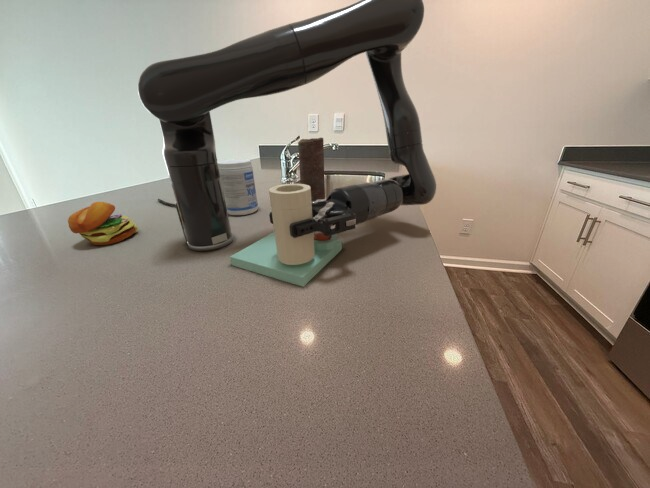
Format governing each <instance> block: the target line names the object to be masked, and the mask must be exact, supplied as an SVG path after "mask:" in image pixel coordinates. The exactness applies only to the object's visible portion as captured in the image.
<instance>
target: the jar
mask: <svg viewBox="0 0 650 488" xmlns="http://www.w3.org/2000/svg"><path fill="white" fill-rule="evenodd" d="M268 193H269V195H268V196H269V201H270V210H271V212H272V218H273V224H272V225H273V232H274V233H275V241H276V248H277V255H278V260H279V261H280V262H282V263H284V264H288V265H299V264H303V263H306V262H309V261H310V260H312V259H313V257H314V235H313V233H310V234H306V235H303V236H300V237H297V238H293V237H292V236H291V235H290V227H289V226H290V224H291V223H294V222H298V221H302V220H305V219H309V218H311V219H312V220H313V218H312V201H311V187H310V186H309V185H305V184H300V183H285V184H284V183H283V184H278V185H275V186H272V187H270V188H269V189H268Z"/></svg>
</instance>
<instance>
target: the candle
mask: <svg viewBox="0 0 650 488" xmlns="http://www.w3.org/2000/svg"><path fill="white" fill-rule="evenodd" d="M324 144H325V143H324V137H318V138H317V137H316V138H302V139H300V140H299V141H298V142H297V146H298V147H297V149H298V163H299V166H298V167H299V181H300V182H299V184H305V185H309V186H310V187H311V197H312V198H313V201H316V200H318V199H326V186H325V185H326V184H325V151H324V150H325V148H324Z"/></svg>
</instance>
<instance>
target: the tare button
mask: <svg viewBox="0 0 650 488" xmlns="http://www.w3.org/2000/svg"><path fill="white" fill-rule="evenodd" d="M329 239H330V236H324V235H323V232H321V233H318V234H316V233H314V240H318V241H326V240H329Z"/></svg>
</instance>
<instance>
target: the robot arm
mask: <svg viewBox="0 0 650 488" xmlns="http://www.w3.org/2000/svg"><path fill="white" fill-rule="evenodd" d="M424 18H425V5H424V1H423V0H359V1H357V2H354V3H352V4H349V5H348V6H345V7H342V8H339V9H335V10H332V11H328V12H325V13H322V14H319V15H318V14H317V15H315V16H312V17H309V18H306V19H302V20H299V21H295V22H290V23H287V24H285V25H281V26H278V27H275V28H271V29H268V30H266V31H263V32H261V33H257V34H255V35H252V36H249V37H247V38H244V39H242V40H238V41H237V42H234V43H232V44H229V45H227V46H225V47H223V48H220V49H217V50H214V51H210V52H206V53H201V54H196V55H191V56H185V57H180V58H174V59H167V60H166V59H165V60H160V61H156V62H154V63H151V64H150V65H148V66H147V67H146V68H144V70H143V71H142V72H141V74H140V76H139V77H138V78H139V79H138V82H137V94H138V97H139V100H140V101H141V102H140V103H141V104H142V105H143V107H144V108H145V110H146V111H148V112H149V114H151V115H152V116H153V117H155V118H157V119H158V123H159V125H160V129H161V133H162V138H163V147H162V156H163V161H164V165H165V167H166V170H167V174H168V178H169V181H170V183H171V188H172V191H173V195H174V199H175V203H170V202H167V201H164V200H163V199H160V198H157V202H160V203H161V204H164V205H167V206H171V207H175V208H176V213H177V216H178V219H179V223H180V226H181V230H182V233H183V238H184V240H185V243H186V245H187V247H188V249H189V250H191V251H195V252H210V251H214V250H219V249H222V248H225V247H226V246H229V245H230V244H231V243H233V241H234V235H233V233H232V229H231V223H230V219H229V214H228V212H227V207H226V202H225V197H224V192H223V187H222V182H221V177H220V172H219V167H218V162H219V161H218V157H217V149H216V148H217V147H216V140H215V133H214V127H213V122H212V117H211V116H212V115H211V111H213V110H216V109H217V108H220V107H222V106H225V105H226V104H229V103H233V102H236V101H240V100H244V99H252V98H260V97H266V96H273V95H277V94H281V93H284V92H287V91H291V90H293V89H296V88H300V87H302V86H306V85H309V84H310V83H313V82H314V81H316V80H319V79H321V78H322V77H324V76H325V75H328V74H329V73H330V72H331V71H334V70H335V69H337V68H338V67H339V66H341V65H343V64H344V63H345V62H347V61H348V60H350V59H352V58H354V57H356V56H358V55H361V54H364V53H365V56H366V59H367V63H368V65H369V68H370V72H371V75H372V78H373V81H374V86H375V88H376V92H377V95H378V99H379V103H380V107H381V111H382V117H383V122H384V127H385V135H386V140H387V146H388V153H389V160H390V162H391V163H392V164H394V165H400V166H404V168H405V169H406V170H407V173H406V174H400V175H395V176H391V177H389V178H386V179H385V178H384V179H379V180H375V181H370V182H366V181H365V182H359V183H355V184H350V185H346V186H340V187H336V188H334V189H332V190H331V191H330V193H329V195H328V196H327V198H325V199H318V200H316V201H313V198H312V197H311V201H312V218H313V220H312V219H311V218H309V219H305V220H302V221H298V222H294V223H291V224H290V226H289V227H290V235H291V236H292V237H293V238H297V237H300V236H303V235H306V234H310V233H313V232H314V233H316V234H318V233H321V232H323V235H324V236H330V235H334V234H337V235H338V234H340V233H341V234H342V233H344V232H348V231H352V230H355V229H356V226H357V225H361V224H363V223H365V222H369V221H371V220H374V219H376V218H378V217H380V216H385V215H386V214H389V213H393V212H394V211H396V210H397V209H399V208H400V207H401V206H423V205H424V206H425V205H428V204H429V203H431V202H432V201H433V200H434V198H435V196H436V193H437V180H436V177H435V175H434V172H433V170H432V168H431V165H430V163H429V160H428V158H427V155H426V153H425V151H424V144H423V135H422V127H421V122H420V117H419V113H418V110H417V108H416V106H415V104H414V102H413V100H412V98H411V96H410V94H409V92H408V90H407V87H406V84H405V81H404V76H403V68H402V67H403V66H402V52H403V51H404V50H405V49H406V48H407V47H408V46H409V45H410V44H411V42H412V41H413V40H414V39H415V38H416V36H417V34H418V33H419V31H420V29H421V27H422V25H423V21H424ZM268 215H269V222H270V223H271V224H272V225H273V218H272V211H270V212H269V214H268ZM332 227H333V228H332Z"/></svg>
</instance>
